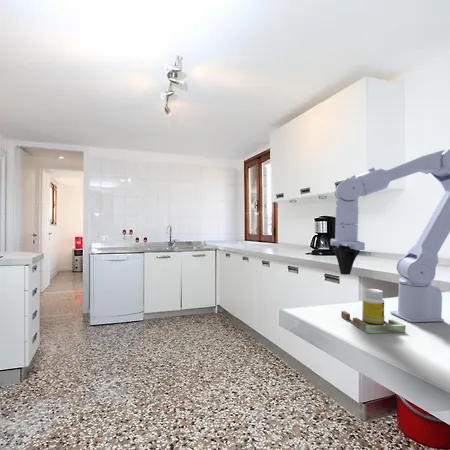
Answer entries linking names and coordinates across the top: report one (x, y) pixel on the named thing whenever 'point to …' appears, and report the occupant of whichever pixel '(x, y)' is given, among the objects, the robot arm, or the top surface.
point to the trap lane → (371, 329)
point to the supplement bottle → (373, 307)
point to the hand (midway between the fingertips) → (345, 274)
